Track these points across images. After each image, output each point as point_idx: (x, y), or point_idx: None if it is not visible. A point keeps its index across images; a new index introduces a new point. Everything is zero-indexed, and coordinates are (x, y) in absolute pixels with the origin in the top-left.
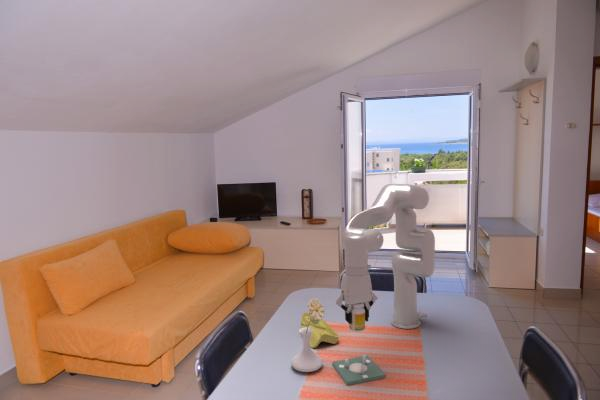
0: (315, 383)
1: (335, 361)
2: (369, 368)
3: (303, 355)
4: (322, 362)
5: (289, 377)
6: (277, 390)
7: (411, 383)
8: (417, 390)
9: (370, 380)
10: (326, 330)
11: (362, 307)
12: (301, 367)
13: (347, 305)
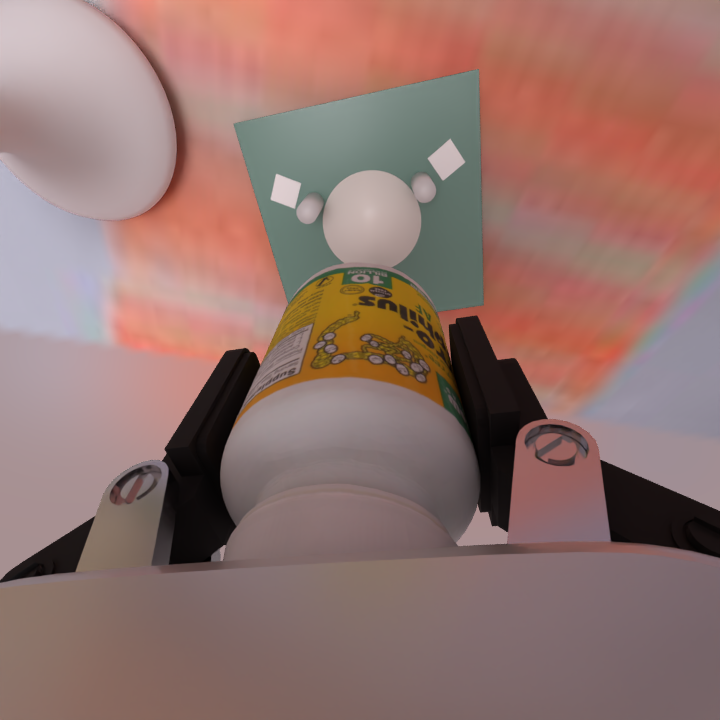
0: (165, 286)
1: (253, 123)
2: (429, 240)
3: (19, 160)
4: (171, 152)
5: (30, 217)
6: (16, 308)
7: (563, 352)
8: (555, 393)
9: None
10: None
11: (446, 527)
12: (58, 207)
13: (148, 554)
